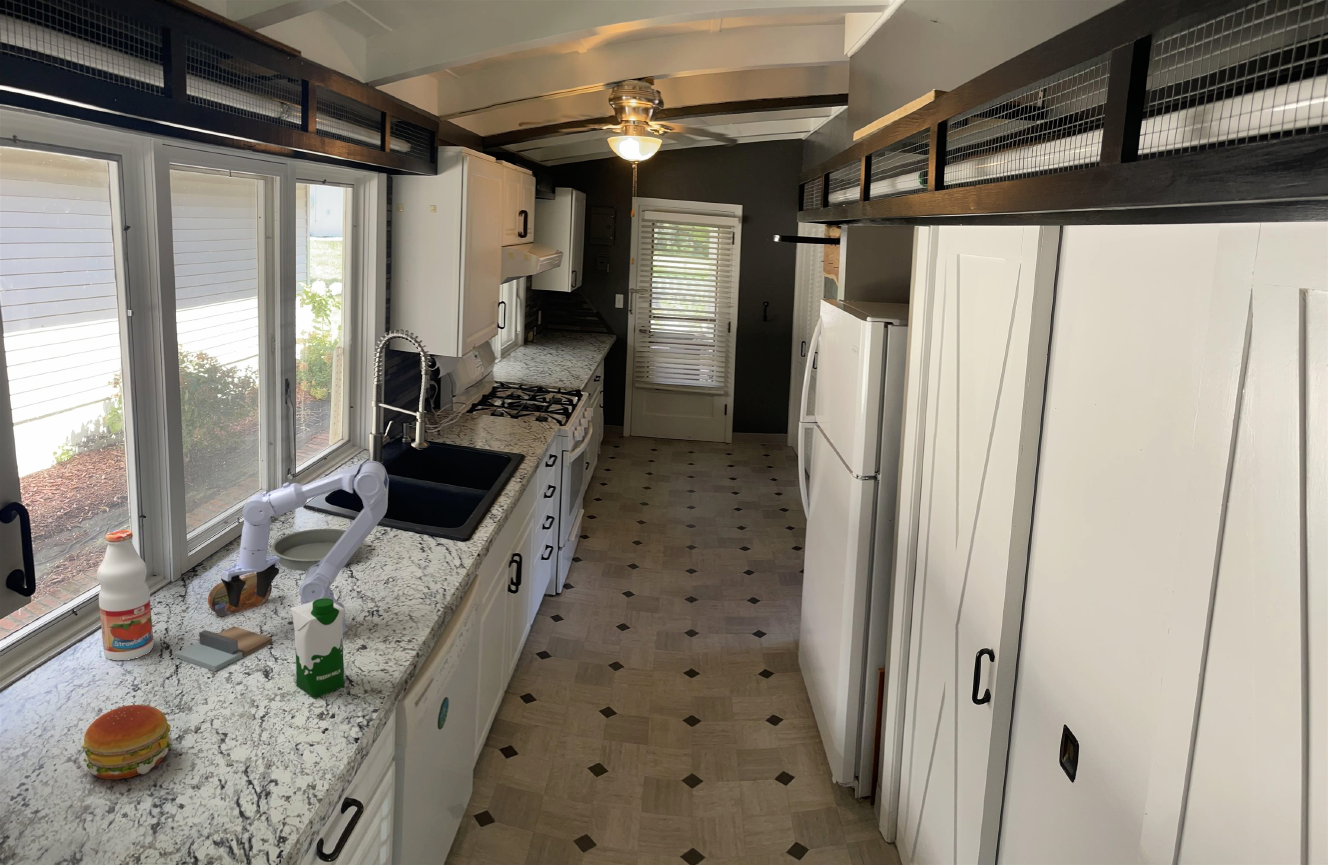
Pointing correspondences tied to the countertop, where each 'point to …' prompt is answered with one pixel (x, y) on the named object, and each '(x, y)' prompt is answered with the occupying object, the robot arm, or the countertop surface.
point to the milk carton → (319, 646)
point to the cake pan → (307, 547)
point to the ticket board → (247, 640)
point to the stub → (211, 651)
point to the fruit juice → (124, 599)
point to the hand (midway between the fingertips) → (247, 600)
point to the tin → (247, 599)
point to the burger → (126, 742)
